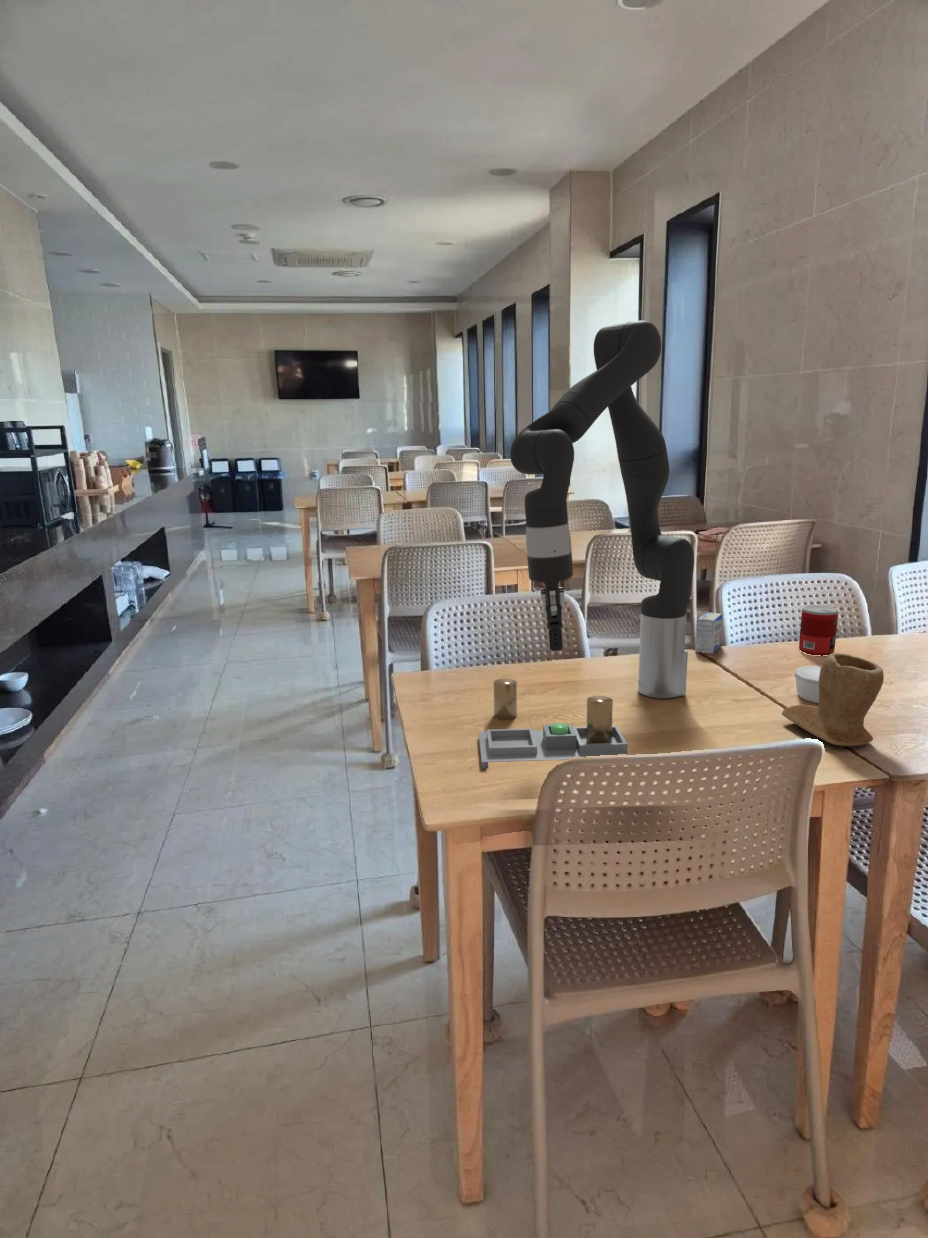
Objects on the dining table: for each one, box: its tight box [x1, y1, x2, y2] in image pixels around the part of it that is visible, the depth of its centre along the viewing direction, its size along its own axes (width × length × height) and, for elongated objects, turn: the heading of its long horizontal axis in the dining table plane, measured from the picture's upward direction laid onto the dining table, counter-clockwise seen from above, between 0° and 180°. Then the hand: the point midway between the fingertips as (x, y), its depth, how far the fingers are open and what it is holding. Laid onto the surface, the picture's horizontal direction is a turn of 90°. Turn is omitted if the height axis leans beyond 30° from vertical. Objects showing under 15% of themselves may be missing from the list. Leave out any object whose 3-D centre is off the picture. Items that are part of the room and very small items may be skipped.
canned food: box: [798, 604, 839, 657], centre depth 189 cm, size 8×8×11 cm
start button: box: [550, 722, 568, 734], centre depth 137 cm, size 3×3×2 cm
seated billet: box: [586, 695, 614, 744], centre depth 137 cm, size 4×4×8 cm
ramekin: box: [794, 665, 822, 704], centre depth 160 cm, size 11×11×5 cm
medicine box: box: [694, 612, 723, 655], centre depth 194 cm, size 8×4×9 cm, turn 148°
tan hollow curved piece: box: [781, 652, 885, 747], centre depth 140 cm, size 15×12×15 cm
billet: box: [493, 678, 518, 721], centre depth 151 cm, size 4×4×8 cm
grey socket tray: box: [478, 723, 629, 769], centre depth 137 cm, size 25×13×4 cm, turn 91°
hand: (556, 649), depth 136 cm, fingers closed
